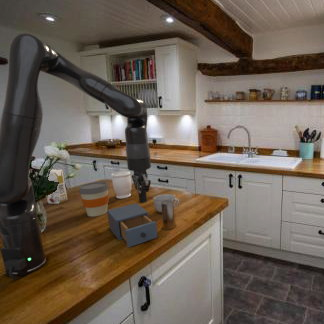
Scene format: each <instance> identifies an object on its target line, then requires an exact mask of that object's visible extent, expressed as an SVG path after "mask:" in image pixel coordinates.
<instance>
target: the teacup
mask: <svg viewBox="0 0 324 324" xmlns="http://www.w3.org/2000/svg"><path fill="white" fill-rule="evenodd" d="M152 199H153V207H154V210H155V211H157V212H158V213H161V214H162V207H161V202H162V201H165V200H173V202H174V209H176V208H177V207H178V206H179V205H180V199H179V198H177V197H176V195H175V194H173V193H172V194H171V193H163V194H158V195H155V196H153V198H152Z"/></svg>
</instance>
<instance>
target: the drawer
mask: <svg viewBox="0 0 324 324" xmlns="http://www.w3.org/2000/svg"><path fill="white" fill-rule="evenodd" d="M148 217H149V216H148ZM148 217H147V216H145V215H142V216H138V217H135V218H131V219H127V220H124V221H120V222H119V228H120V235H121V236H122V237H123V238H124V239H123V240H124V241H125V242H126V247H127V248H130V247H133V246H137V245H140V244H143V243H145V242H148V241H151V240H153V239H157V238H158V237H159V236H158V226H157V221H156V220H154V221H153V220H152V219H151V218H150V217H149V218H148Z"/></svg>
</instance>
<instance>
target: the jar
mask: <svg viewBox="0 0 324 324" xmlns="http://www.w3.org/2000/svg"><path fill="white" fill-rule="evenodd" d="M110 174H111V177H112V181H111V182H112V188H113V190H114V191H113V192H114V193H115V194H116V195H115V197H116V199H119V200H120V199H121V200H122V199H127V198H129V197H132V193H131V191H132V182H133V181H132V176H131V171H130V170H122V171H116V172H112V173H110Z"/></svg>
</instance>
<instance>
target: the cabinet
mask: <svg viewBox="0 0 324 324" xmlns="http://www.w3.org/2000/svg"><path fill="white" fill-rule="evenodd" d="M142 215H145V216H147V217H148V218H149V219H150V217H149V212H148V211H147V210H146V209H145V208H143V207H142V205H139V204H138V203H137V202H136V203H131V204H127V205H123V206H120V207H115V208H111V209H107V221H108V228H109V229H110V231H111V232H112V233H113V235H114V237H116V238H117V239H118V241H121V240H124V238H123V237H122V236H121V235H120V228H119V222H120V221H124V220H127V219H131V218H135V217H138V216H142Z"/></svg>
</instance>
